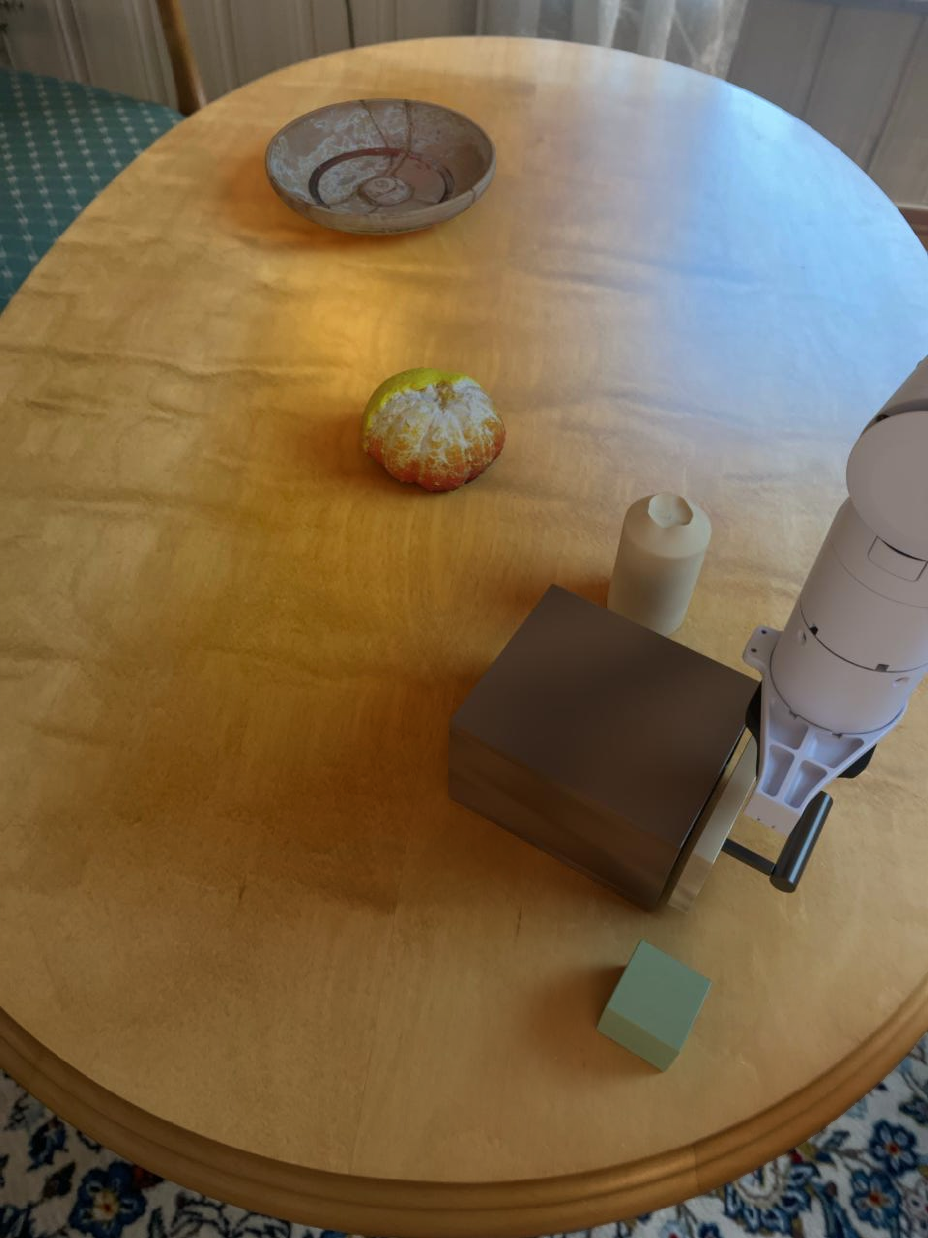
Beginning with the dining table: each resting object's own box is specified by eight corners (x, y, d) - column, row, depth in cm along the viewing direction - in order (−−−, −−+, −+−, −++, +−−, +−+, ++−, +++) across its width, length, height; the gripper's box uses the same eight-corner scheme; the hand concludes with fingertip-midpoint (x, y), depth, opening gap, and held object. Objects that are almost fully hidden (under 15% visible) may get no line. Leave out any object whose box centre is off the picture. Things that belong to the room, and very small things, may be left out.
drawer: (822, 808, 58) (861, 750, 53) (757, 956, 52) (794, 908, 47) (575, 682, 63) (587, 618, 58) (492, 804, 58) (497, 746, 52)
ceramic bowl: (231, 179, 103) (223, 131, 99) (420, 124, 111) (419, 78, 108) (337, 286, 91) (333, 237, 88) (539, 216, 100) (543, 169, 96)
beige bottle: (699, 626, 67) (733, 527, 59) (628, 649, 66) (654, 551, 58) (660, 570, 70) (688, 468, 63) (592, 591, 69) (612, 490, 61)
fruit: (359, 503, 73) (351, 403, 69) (370, 444, 82) (364, 351, 77) (507, 503, 73) (509, 402, 69) (502, 444, 82) (504, 351, 77)
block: (696, 1005, 52) (713, 981, 48) (665, 1073, 49) (680, 1053, 46) (629, 964, 53) (640, 938, 50) (595, 1029, 51) (605, 1006, 48)
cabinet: (730, 761, 61) (766, 684, 54) (650, 914, 55) (680, 848, 48) (541, 665, 65) (552, 582, 58) (447, 796, 59) (448, 721, 52)
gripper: (835, 470, 44) (757, 648, 55) (707, 696, 36) (646, 852, 47) (994, 533, 42) (881, 705, 52) (894, 788, 34) (785, 929, 45)
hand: (779, 779), depth 49 cm, fingers closed
